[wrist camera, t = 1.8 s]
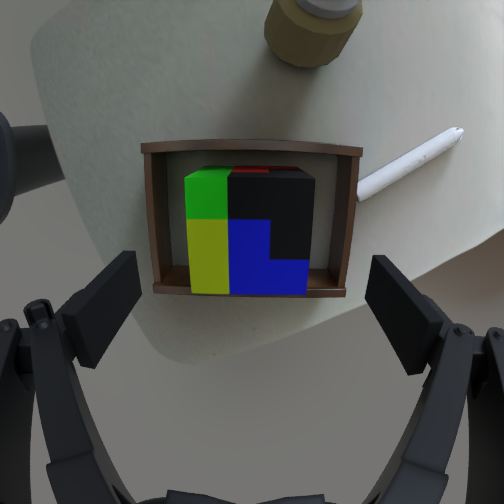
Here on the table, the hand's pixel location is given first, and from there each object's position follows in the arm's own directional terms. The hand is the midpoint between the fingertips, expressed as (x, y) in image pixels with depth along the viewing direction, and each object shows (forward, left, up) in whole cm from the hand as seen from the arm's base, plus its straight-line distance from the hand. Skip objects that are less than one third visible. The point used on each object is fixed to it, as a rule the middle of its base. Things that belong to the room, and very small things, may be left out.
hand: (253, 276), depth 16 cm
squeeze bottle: (+5, +19, -18) cm, 27 cm away
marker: (+19, +7, -18) cm, 27 cm away
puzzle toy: (0, -1, -18) cm, 18 cm away
